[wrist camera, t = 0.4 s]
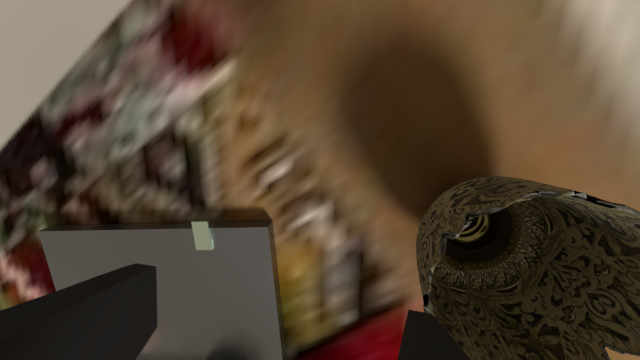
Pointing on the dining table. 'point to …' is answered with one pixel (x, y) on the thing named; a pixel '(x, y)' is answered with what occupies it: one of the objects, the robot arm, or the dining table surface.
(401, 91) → the dining table surface
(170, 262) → the lock base
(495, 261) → the cup
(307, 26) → the dining table surface
